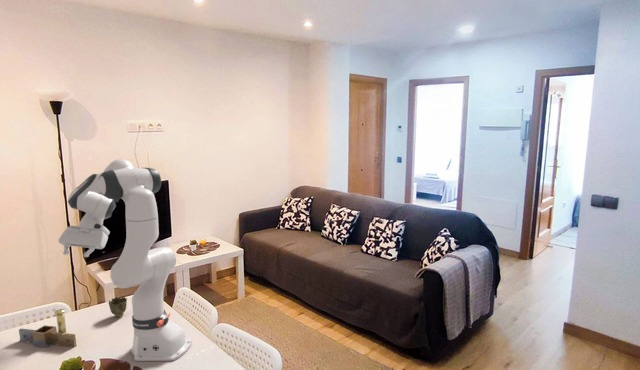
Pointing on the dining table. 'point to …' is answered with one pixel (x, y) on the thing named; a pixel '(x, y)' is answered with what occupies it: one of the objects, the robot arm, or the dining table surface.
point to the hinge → (47, 337)
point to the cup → (118, 306)
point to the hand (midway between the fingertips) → (75, 255)
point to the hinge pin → (61, 320)
